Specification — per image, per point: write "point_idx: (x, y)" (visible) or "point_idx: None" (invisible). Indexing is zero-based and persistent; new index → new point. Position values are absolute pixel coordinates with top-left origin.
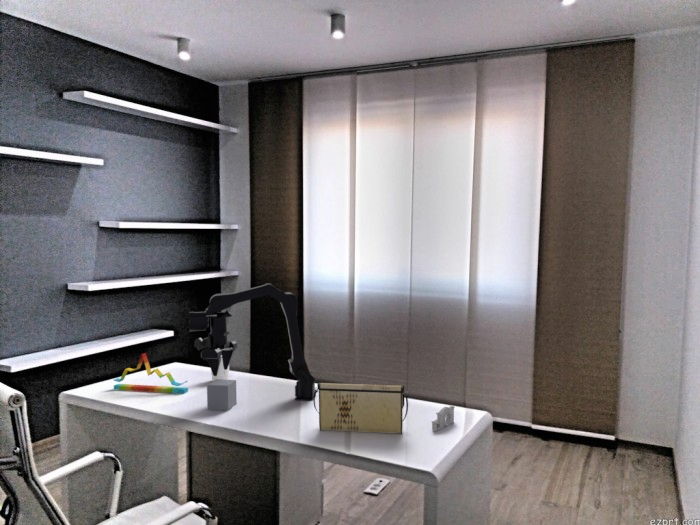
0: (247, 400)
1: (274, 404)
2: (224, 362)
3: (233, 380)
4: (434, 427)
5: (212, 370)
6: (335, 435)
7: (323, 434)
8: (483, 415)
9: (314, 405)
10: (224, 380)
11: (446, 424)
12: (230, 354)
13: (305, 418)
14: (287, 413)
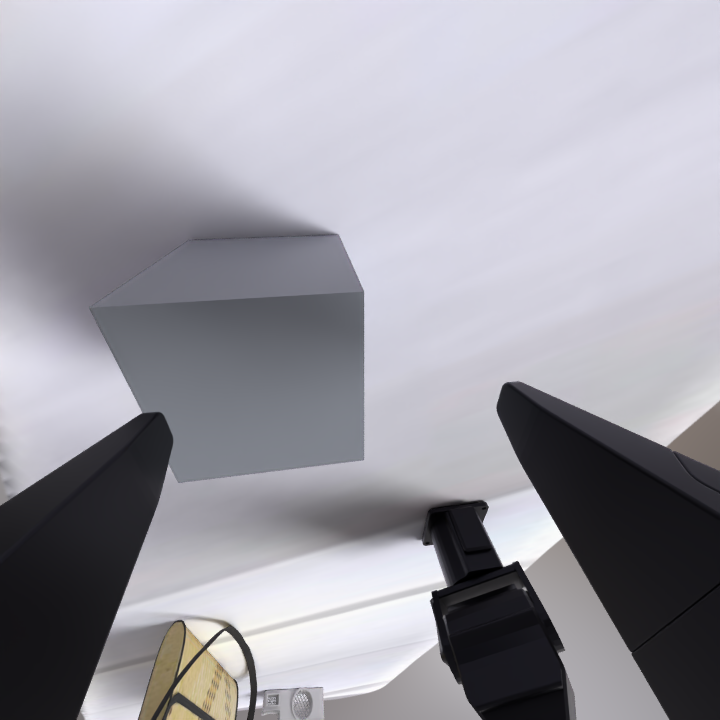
0: (414, 375)
1: (369, 479)
2: (572, 459)
3: (347, 450)
4: (264, 700)
5: (54, 488)
6: (159, 643)
7: (150, 632)
8: (361, 693)
9: (167, 695)
10: (331, 391)
11: (301, 691)
12: (667, 685)
13: (251, 578)
14: (279, 538)
